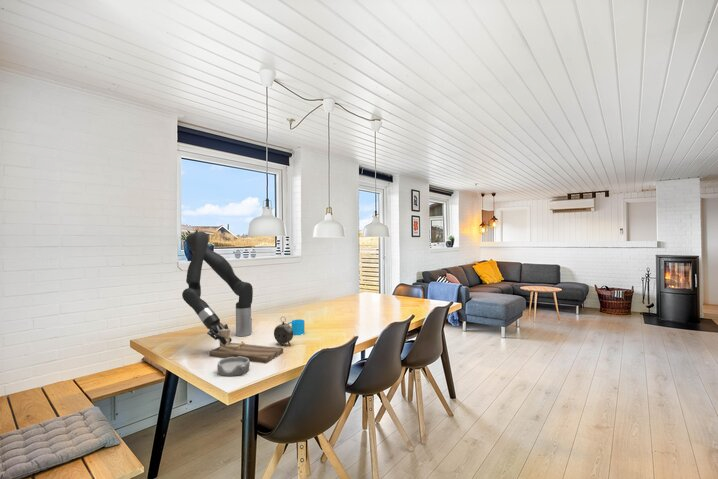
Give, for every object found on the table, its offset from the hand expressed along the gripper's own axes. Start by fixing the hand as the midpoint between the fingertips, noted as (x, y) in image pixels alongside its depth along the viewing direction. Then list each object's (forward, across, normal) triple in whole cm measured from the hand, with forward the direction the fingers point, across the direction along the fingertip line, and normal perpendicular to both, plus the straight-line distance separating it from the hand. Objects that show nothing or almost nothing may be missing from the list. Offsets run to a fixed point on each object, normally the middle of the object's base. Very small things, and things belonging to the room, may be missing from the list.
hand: (228, 342), depth 183 cm
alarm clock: (+19, +22, -10) cm, 30 cm away
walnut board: (+11, +2, -3) cm, 12 cm away
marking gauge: (+3, +3, +2) cm, 5 cm away
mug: (+15, +46, -6) cm, 49 cm away
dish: (+17, -19, -8) cm, 27 cm away
